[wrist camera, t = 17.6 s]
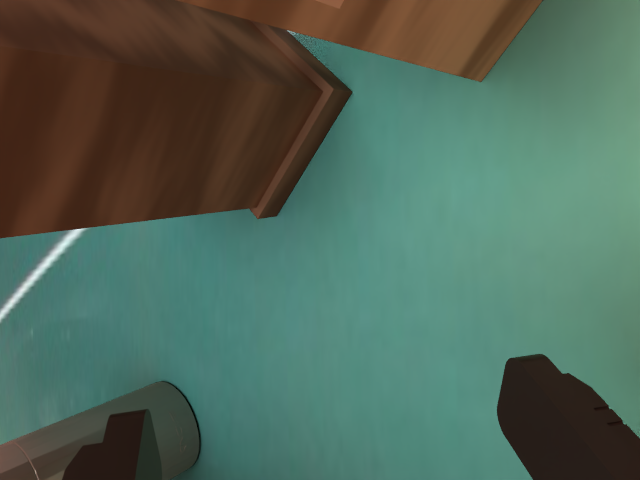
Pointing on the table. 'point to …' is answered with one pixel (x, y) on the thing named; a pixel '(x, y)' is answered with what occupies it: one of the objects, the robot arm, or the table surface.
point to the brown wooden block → (332, 3)
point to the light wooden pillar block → (400, 27)
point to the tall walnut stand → (151, 113)
